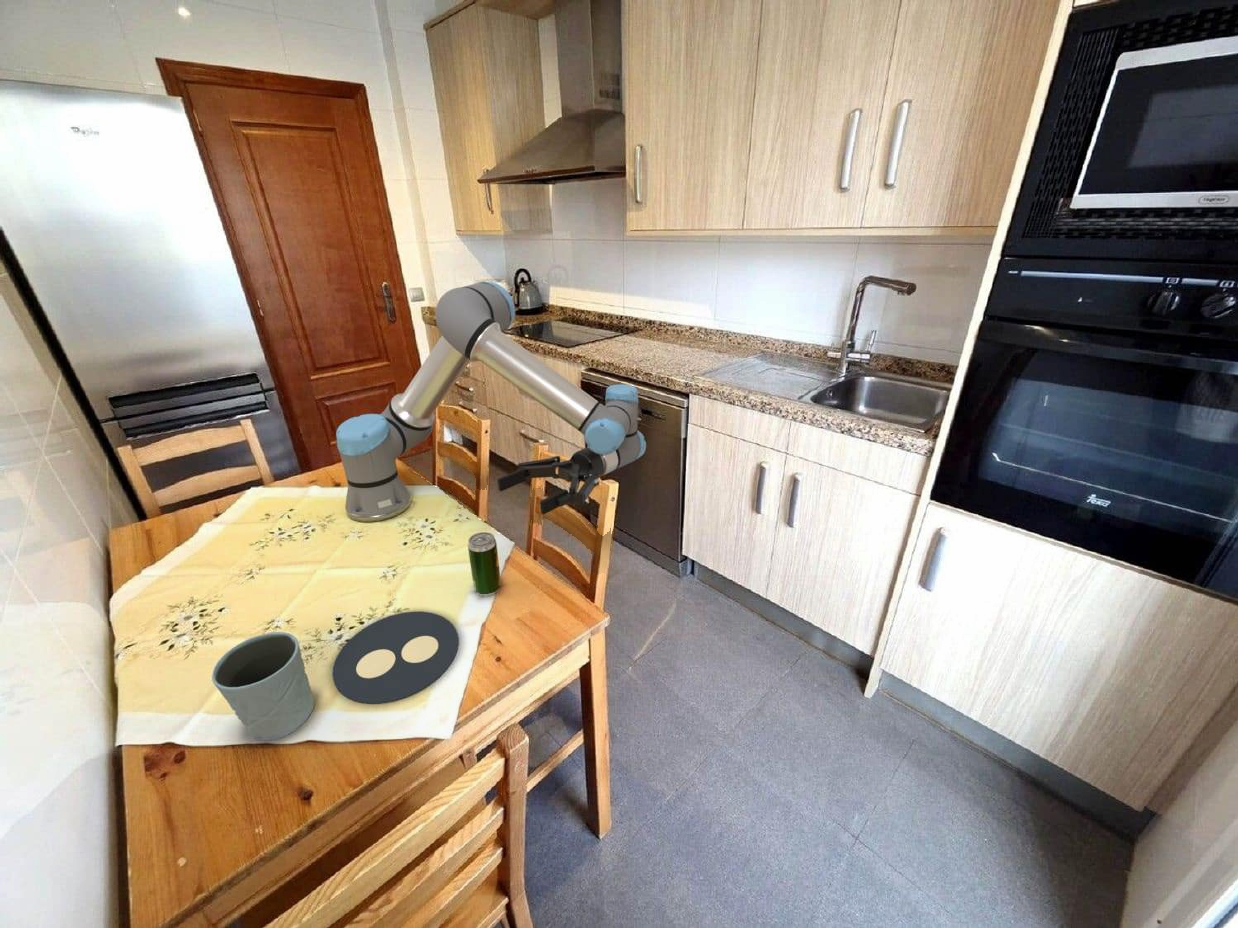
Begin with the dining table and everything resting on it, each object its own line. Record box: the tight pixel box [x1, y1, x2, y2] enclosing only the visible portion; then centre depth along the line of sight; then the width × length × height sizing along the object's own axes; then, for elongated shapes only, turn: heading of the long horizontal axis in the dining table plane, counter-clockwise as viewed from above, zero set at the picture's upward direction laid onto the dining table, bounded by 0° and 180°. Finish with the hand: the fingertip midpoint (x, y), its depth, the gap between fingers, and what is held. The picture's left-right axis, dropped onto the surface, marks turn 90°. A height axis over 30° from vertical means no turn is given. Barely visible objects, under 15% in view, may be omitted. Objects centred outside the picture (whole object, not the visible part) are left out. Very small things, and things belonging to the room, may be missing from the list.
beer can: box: [467, 531, 502, 597], centre depth 99 cm, size 5×5×12 cm
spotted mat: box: [332, 611, 459, 705], centre depth 86 cm, size 20×20×1 cm
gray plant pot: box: [211, 631, 315, 742], centre depth 73 cm, size 10×10×12 cm
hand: (519, 496), depth 101 cm, fingers open, 13 cm apart
